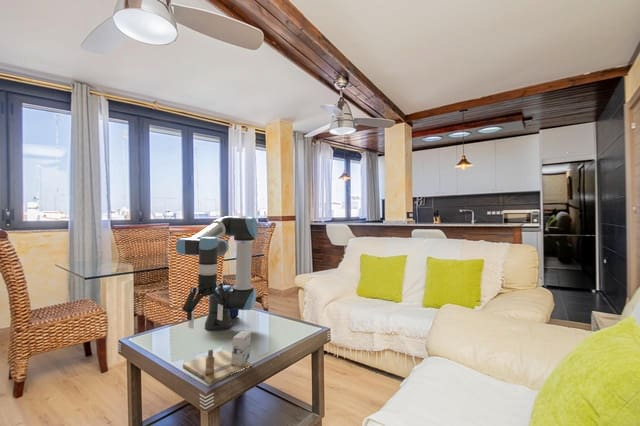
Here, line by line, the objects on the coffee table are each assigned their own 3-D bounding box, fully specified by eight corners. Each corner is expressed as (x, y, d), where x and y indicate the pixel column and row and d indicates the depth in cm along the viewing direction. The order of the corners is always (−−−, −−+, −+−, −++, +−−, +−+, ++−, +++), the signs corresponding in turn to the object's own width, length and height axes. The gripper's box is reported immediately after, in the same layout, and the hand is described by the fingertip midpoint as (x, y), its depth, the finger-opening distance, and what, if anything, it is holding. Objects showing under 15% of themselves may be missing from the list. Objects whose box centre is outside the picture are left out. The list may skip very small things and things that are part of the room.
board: (223, 352, 151) (224, 349, 151) (252, 366, 138) (252, 363, 138) (182, 366, 136) (183, 363, 136) (210, 383, 122) (210, 380, 122)
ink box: (239, 356, 144) (241, 330, 145) (250, 358, 143) (251, 331, 144) (230, 364, 136) (232, 336, 136) (241, 366, 135) (243, 338, 135)
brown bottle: (210, 370, 130) (212, 348, 130) (215, 373, 128) (216, 350, 128) (203, 373, 128) (204, 350, 128) (208, 376, 126) (209, 352, 126)
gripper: (227, 268, 148) (225, 314, 148) (174, 276, 129) (172, 328, 129) (237, 271, 143) (235, 318, 144) (184, 279, 124) (182, 333, 124)
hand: (205, 323), depth 136 cm, fingers open, 13 cm apart
